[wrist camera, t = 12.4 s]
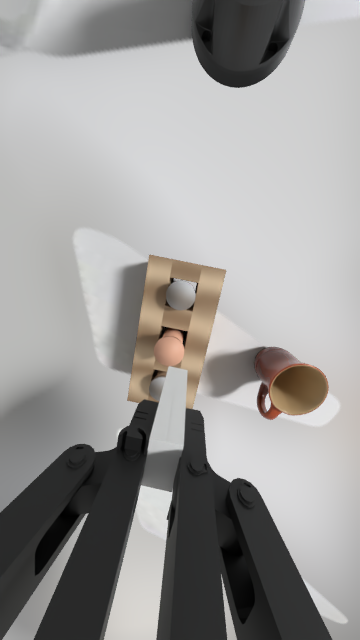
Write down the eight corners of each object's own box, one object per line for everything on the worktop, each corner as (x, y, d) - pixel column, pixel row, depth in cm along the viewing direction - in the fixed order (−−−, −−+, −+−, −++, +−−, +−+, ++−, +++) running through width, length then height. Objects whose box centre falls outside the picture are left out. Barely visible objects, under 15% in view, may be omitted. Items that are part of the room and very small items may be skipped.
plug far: (160, 354, 39) (151, 375, 30) (180, 358, 39) (177, 381, 30) (156, 373, 40) (147, 398, 31) (176, 377, 40) (172, 404, 31)
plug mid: (164, 321, 35) (156, 334, 26) (188, 325, 35) (187, 340, 26) (160, 342, 36) (151, 362, 27) (183, 347, 36) (180, 368, 27)
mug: (265, 333, 37) (292, 353, 27) (301, 355, 38) (341, 382, 28) (231, 379, 40) (245, 413, 30) (265, 399, 40) (290, 438, 30)
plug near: (174, 278, 35) (168, 277, 27) (196, 282, 35) (198, 283, 27) (170, 300, 36) (163, 307, 28) (191, 305, 36) (192, 313, 28)
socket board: (157, 259, 35) (149, 254, 28) (219, 271, 35) (226, 270, 28) (137, 380, 41) (127, 400, 34) (191, 391, 41) (191, 414, 34)
